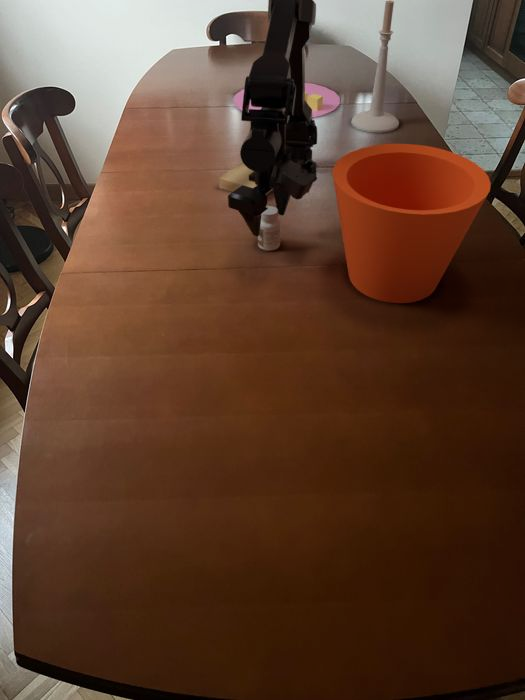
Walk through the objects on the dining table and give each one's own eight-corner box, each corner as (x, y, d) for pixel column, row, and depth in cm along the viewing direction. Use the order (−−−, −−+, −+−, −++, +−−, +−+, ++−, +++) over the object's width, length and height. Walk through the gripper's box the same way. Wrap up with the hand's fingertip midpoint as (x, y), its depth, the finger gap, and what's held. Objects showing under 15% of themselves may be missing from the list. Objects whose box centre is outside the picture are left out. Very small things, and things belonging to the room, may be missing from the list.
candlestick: (403, 118, 165) (422, -4, 144) (391, 135, 156) (409, 7, 136) (359, 112, 169) (372, -9, 148) (345, 128, 160) (356, 2, 140)
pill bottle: (256, 239, 118) (256, 205, 113) (278, 238, 118) (279, 203, 113) (258, 251, 115) (258, 216, 110) (281, 250, 115) (281, 215, 110)
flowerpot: (321, 239, 118) (328, 143, 105) (447, 241, 117) (470, 144, 104) (328, 318, 100) (337, 213, 86) (477, 320, 99) (510, 215, 86)
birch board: (218, 188, 135) (218, 177, 133) (245, 169, 142) (245, 159, 140) (259, 200, 130) (259, 189, 129) (284, 180, 137) (285, 170, 136)
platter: (307, 128, 160) (307, 116, 157) (211, 106, 173) (211, 94, 170) (358, 93, 180) (359, 81, 177) (269, 75, 192) (269, 64, 190)
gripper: (281, 178, 94) (279, 260, 105) (334, 137, 106) (328, 215, 116) (224, 162, 99) (228, 242, 109) (281, 125, 110) (280, 200, 121)
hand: (269, 225), depth 114 cm, fingers open, 9 cm apart
